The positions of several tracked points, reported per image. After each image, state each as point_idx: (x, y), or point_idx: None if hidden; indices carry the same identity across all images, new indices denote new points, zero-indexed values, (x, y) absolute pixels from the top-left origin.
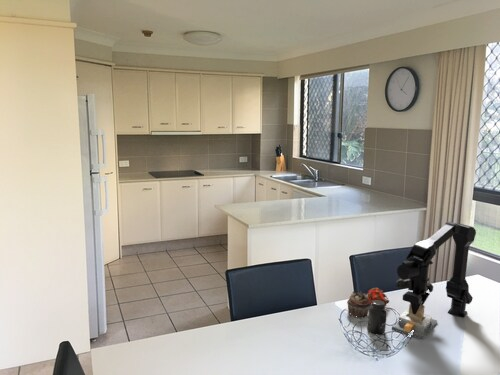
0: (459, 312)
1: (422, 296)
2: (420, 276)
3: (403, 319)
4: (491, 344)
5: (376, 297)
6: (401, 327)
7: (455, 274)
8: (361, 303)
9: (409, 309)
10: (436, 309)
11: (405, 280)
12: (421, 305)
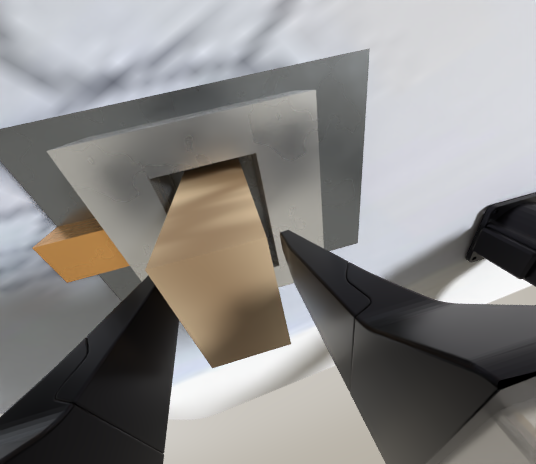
0: (488, 257)
1: (379, 416)
2: None
3: (85, 195)
4: (322, 366)
5: None
6: (72, 189)
7: None
8: None
9: (166, 229)
10: (513, 149)
11: None
12: (271, 332)
